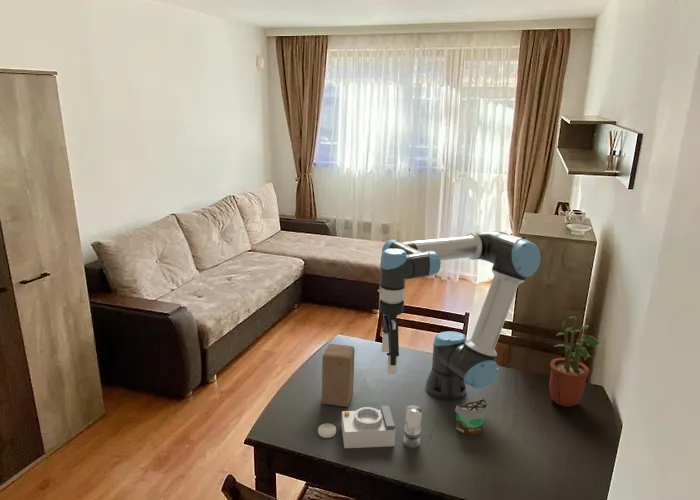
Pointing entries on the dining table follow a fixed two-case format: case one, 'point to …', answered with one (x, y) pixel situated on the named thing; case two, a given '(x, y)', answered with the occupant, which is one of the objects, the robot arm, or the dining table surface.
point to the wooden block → (337, 375)
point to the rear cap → (327, 430)
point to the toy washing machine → (368, 428)
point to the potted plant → (570, 369)
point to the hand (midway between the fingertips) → (388, 361)
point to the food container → (471, 417)
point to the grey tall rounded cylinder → (412, 426)
